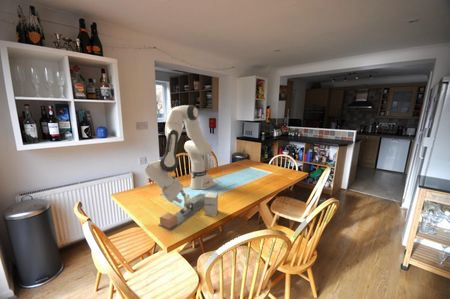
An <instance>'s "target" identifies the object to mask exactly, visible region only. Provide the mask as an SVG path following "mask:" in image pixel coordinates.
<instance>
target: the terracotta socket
mask: <svg viewBox="0 0 450 299" xmlns="http://www.w3.org/2000/svg"><path fill="white" fill-rule="evenodd" d="M174 214H175V213H171V212H166V213H165V214H163V215H161V216H160V217H159V224H161V225H162V226H165V227H167V228H171V227H173V226H174V225H175V224H177V223H178V222H177V216H176V215H174Z"/></svg>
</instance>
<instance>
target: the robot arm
mask: <svg viewBox="0 0 450 299" xmlns="http://www.w3.org/2000/svg"><path fill="white" fill-rule="evenodd" d="M167 114H168V115H167V117H166V119H165V127H164V135H165V136H166V146H165V151H164V154H163V156H162V157H161V159H159V160H156V161H151V162H149V164H148V165H147V166H146V168H145V170H144V172H145V175H146V176H147V177H148V178H149V179H150V180H151V181H152V182H154V183H155V184H156V185H157V187H159V188H160V189H161V192H162V194H163V196H164V197H165V199H167V201H168V202H170V203H173V202H176V203H178V204H182V202H183V200H182V199H180V198H179V197H178V196H179V194H181V196H182V197H183V198H184V195H187V194H186V192H185V191H184V189H183V188H184V185H183V183H181V182H180V181H179V179H177V177H176V176H175V175H173V176H172V175H171V176H170V175H169V173H171V172H174V171H176V169H177V168H178V166H179V160H178V156H177V151H178V149H177V148H178V142H179V140H180V137H181V135H182V131H183V126H184V128H185V131H186V135H187V137H188V139H190V140H187V141H186V142H185V143H184V145H183V148H184V150H185V152H186V153H187V155H188V157H189V159H190V166H191V170H190V177H191V178H190V184H189V188H191V189H193V190H207V189H209V188H211V187H214V186H215V185H216V181H214V179H213V177H212V176H211V175H210V174H209V170H208V169H206V168H205V167H206V166H205V165H206V164H205V159H204V158H203V157H202V156H208V155H210V154H211V153H212V151H213V150H212V148H213V147H212V145H211V143H209V142H208V141H207V140H206V139H205V137H204V135H203V133H202V130H201V125H200V122H199V119H198V117H199V109H198V108H197V107H196V105H193V104H187V105H186V104H184V105H179V106H178V105H177V106H173V107H170V108H169V110H168V113H167Z"/></svg>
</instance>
